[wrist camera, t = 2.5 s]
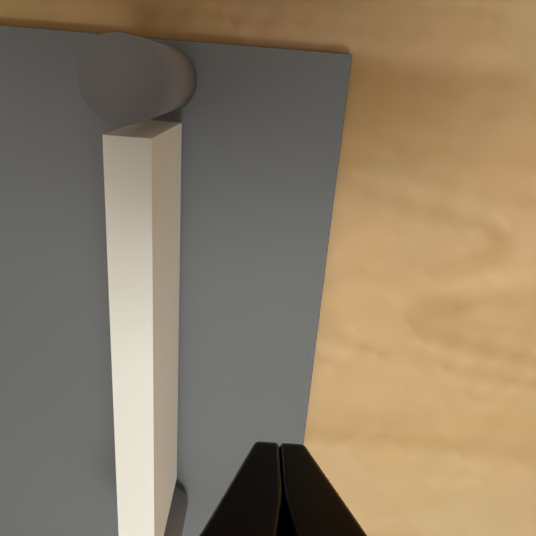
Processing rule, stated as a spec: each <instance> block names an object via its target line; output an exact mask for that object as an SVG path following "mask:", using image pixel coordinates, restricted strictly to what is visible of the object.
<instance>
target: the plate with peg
mask: <svg viewBox="0 0 536 536" xmlns="http://www.w3.org/2000/svg"><path fill="white" fill-rule="evenodd" d="M351 59H352V55H351V54H338V53H326V52H314V51H302V50H290V49H278V48H266V47H254V46H242V45H230V44H218V43H206V42H194V41H182V40H170V39H157V38H145V37H138V36H135V35H131V34H128V33H124V32H109V33H105V34H97V33H85V32H73V31H61V30H49V29H37V28H25V27H13V26H1V25H0V536H119V534H118V510H117V485H116V460H115V436H114V411H113V386H112V361H111V337H110V312H109V287H108V263H107V238H106V213H105V189H104V164H103V139H102V135H103V134H106V133H109V132H112V131H115V130H117V129H120V128H123V127H126V126H129V125H135V124H138V123H141V122H144V121H147V120H156V121H169V122H182V145H181V215H180V285H179V356H178V426H177V479H176V484H175V486H177V487H178V488H180V489H181V490H182V491H183V492H184V493H185V495H186V497H187V500H188V506H187V512H186V517H185V523H184V528H183V533H182V536H199V535H200V533H201V532H202V530H203V528H204V527H205V525H206V523H207V522H208V520H209V518H210V517H211V515H212V513H213V512H214V510H215V508H216V507H217V505H218V503H219V502H220V500H221V498H222V497H223V495H224V493H225V492H226V490H227V488H228V487H229V485H230V483H231V482H232V480H233V478H234V477H235V475H236V473H237V471H238V470H239V468H240V466H241V465H242V463H243V461H244V460H245V458H246V456H247V455H248V453H249V451H250V450H251V448H252V446H253V445H254V444H255V443H256V442H258V441H260V442H275V443H277V444H278V445H279V447H280V445H281V444H282V443H293V444H302V445H303V443H304V435H305V427H306V419H307V411H308V403H309V395H310V387H311V379H312V371H313V363H314V355H315V347H316V339H317V331H318V323H319V315H320V307H321V299H322V291H323V283H324V275H325V267H326V259H327V251H328V243H329V235H330V227H331V219H332V211H333V203H334V195H335V187H336V179H337V171H338V163H339V155H340V147H341V139H342V131H343V123H344V115H345V107H346V99H347V91H348V83H349V75H350V67H351Z"/></svg>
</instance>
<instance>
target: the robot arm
mask: <svg viewBox="0 0 536 536" xmlns="http://www.w3.org/2000/svg"><path fill="white" fill-rule="evenodd" d="M199 536H367V535H366V534H365V532H364V531H363V529H362V528H361V526H360V525H359V523H358V522H357V521H356V519H355V518H354V516H353V515H352V513H351V512H350V510H349V509H348V508H347V506H346V505H345V503H344V502H343V500H342V499H341V497H340V496H339V495H338V493H337V492H336V490H335V489H334V487H333V486H332V484H331V483H330V482H329V480H328V479H327V477H326V476H325V474H324V473H323V471H322V470H321V469H320V467H319V466H318V464H317V463H316V461H315V460H314V458H313V457H312V456H311V454H310V453H309V451H308V450H307V448H306V447H305V446H304V445H302V444H293V443H282V444H281V445H280V447H279V445H278V444H277V443H275V442H260V441H258V442H256V443H255V444H254V445H253V446H252V448H251V450H250V451H249V453H248V455H247V456H246V458H245V460H244V461H243V463H242V465H241V466H240V468H239V470H238V471H237V473H236V475H235V477H234V478H233V480H232V482H231V483H230V485H229V487H228V488H227V490H226V492H225V493H224V495H223V497H222V498H221V500H220V502H219V503H218V505H217V507H216V508H215V510H214V512H213V513H212V515H211V517H210V518H209V520H208V522H207V523H206V525H205V527H204V528H203V530H202V532H201V533H200V535H199Z"/></svg>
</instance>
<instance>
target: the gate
mask: <svg viewBox="0 0 536 536" xmlns="http://www.w3.org/2000/svg"><path fill="white" fill-rule="evenodd" d="M102 139H103V164H104V189H105V213H106V238H107V263H108V287H109V312H110V337H111V361H112V386H113V411H114V436H115V460H116V485H117V510H118V534H119V536H182V533H183V528H184V523H185V517H186V512H187V506H188V500H187V497H186V495H185V493H184V492H183V491H182V490H181V489H180V488H178V487H177V486H175V484H176V479H177V426H178V356H179V285H180V215H181V145H182V122H169V121H156V120H147V121H144V122H141V123H138V124H135V125H129V126H126V127H123V128H120V129H117V130H115V131H112V132H109V133H106V134H103V135H102Z"/></svg>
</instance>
